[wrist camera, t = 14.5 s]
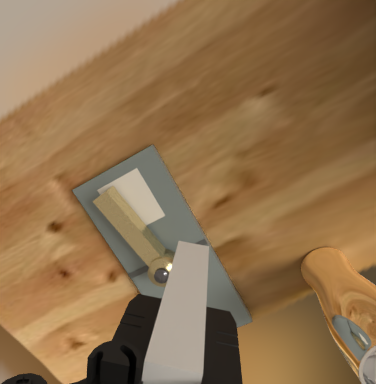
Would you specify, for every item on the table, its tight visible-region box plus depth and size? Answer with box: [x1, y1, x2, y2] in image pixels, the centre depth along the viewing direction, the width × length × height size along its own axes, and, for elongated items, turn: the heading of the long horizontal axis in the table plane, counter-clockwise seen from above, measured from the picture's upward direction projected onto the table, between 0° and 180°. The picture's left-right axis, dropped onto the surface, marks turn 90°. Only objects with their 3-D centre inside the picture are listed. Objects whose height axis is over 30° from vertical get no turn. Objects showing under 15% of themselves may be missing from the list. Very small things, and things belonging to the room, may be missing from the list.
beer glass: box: [301, 247, 376, 384], centre depth 28 cm, size 7×7×15 cm
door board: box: [72, 144, 252, 327], centre depth 36 cm, size 12×28×1 cm, turn 29°
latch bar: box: [92, 186, 175, 287], centre depth 32 cm, size 4×14×4 cm, turn 37°
